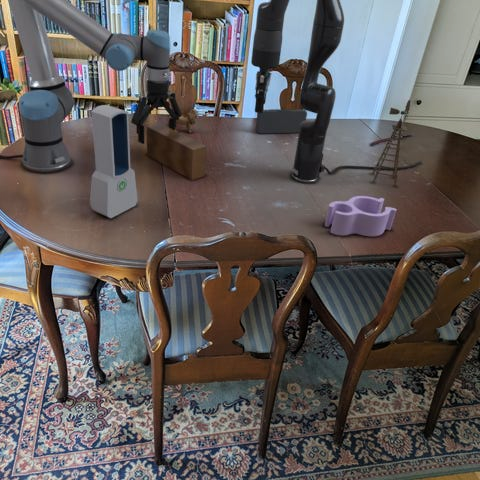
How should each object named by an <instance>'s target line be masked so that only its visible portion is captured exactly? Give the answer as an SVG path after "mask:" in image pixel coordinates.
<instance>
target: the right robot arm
mask: <svg viewBox="0 0 480 480" xmlns="http://www.w3.org/2000/svg"><path fill="white" fill-rule="evenodd" d="M341 3H342V2H341V0H316V4H315V5H316V6H315V11H314V18H313V22H312V29H311V34H310V35H311V36H310V45H309V51H308V56H307V63H306V67H305V71H304V75H303V80H302V83H301V87H300V88H301V89H300V93H299V106H300V108H301V110H305V111H306V112H309V113H313V114H316V117H315V119H306V121H303V122H302V123H301V125H300V130H299V133H298V136H297V143H296V149H295V155H294V161H293V166H292V170H291V178H292V179H293V180H295V181H297V182H300V183H302V184H303V183H304V184H312V183H315V182H317V181H318V179H319V178H320V173H321V174H322V173H323V172H325V171H326V173H327V174H328V175H333V174H335V173H336V172H337V171H338V170H340V169H366V170H367V169H368V170H374V169H375V167H376V166H366V165H340V166H337V167H335V168H334V170H333V171H330V169H329V168H328V167H327V166H326V165H324V164H323V159H324V152H323V151H324V146H325V141H326V138H327V137H326V136H327V132H328V128H329V126H330V123H331V119H332V114H333V110H334V107H335V102H336V97H337V95H336V89H335V88H334V87H332V86H328V85H325V84H321V83H318V80H319V76H320V72H321V70H322V69H323V66H324V65H325V63H326V62H327V61H328V60H329V59H330V58H331V56H332V55H333V54H334V53H335V52H336V50H337V49H338V47H339V46H340V44H341V42H342V36H343V31H344V25H345V15H344V10H343V7H342V4H341ZM289 4H290V0H270V1H265V2H261V3H259V5H258V7H257V10H256V11H257V13H256V20H255V21H256V22H255V30H254V33H253V34H254V35H253V41H252V50H251V60H250V61H251V62H250V63H251V65H252V66H253V67H255V68H259V70H257V72H256V74H255V87H254V89H255V94H254V98H255V105H254V112H255V113H256V114H257V113H262V112H263V110H264V106H265V104H266V102H267V101H266V100H267V99H266V98H267V93H268V91H269V87H270V82H271V79H272V72H271V69H272V70H274V69H278V68H279V67H280V61H281V53H282V46H283V45H282V44H283V31H284V24H285V15H286V11H287V10H288V6H289ZM422 162H423V161H421V160H420V161H419V160H418V161H417V162H415V163H413V164H410V165H405V166H398V169H397V170H403V169H404V170H405V169H410V168H413V167H416V166H418V165H419V164H422ZM392 167H393V168H394V166H392ZM378 169H379V166H378V167H377V170H378ZM380 170H392V169H391V168H385V167H381V169H380Z"/></svg>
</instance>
